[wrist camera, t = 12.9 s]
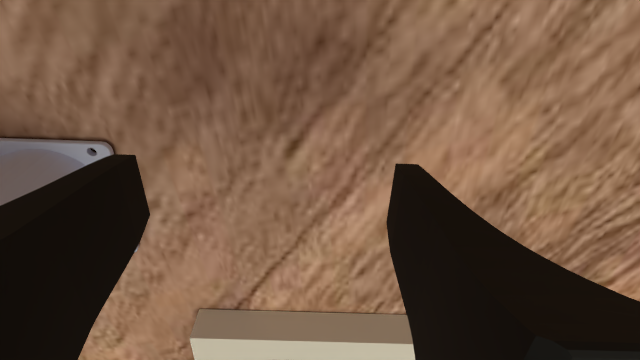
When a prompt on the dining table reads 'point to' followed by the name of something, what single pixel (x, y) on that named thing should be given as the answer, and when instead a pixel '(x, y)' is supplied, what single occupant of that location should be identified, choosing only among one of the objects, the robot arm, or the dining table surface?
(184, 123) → the dining table surface
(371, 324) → the socket block
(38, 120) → the dining table surface
